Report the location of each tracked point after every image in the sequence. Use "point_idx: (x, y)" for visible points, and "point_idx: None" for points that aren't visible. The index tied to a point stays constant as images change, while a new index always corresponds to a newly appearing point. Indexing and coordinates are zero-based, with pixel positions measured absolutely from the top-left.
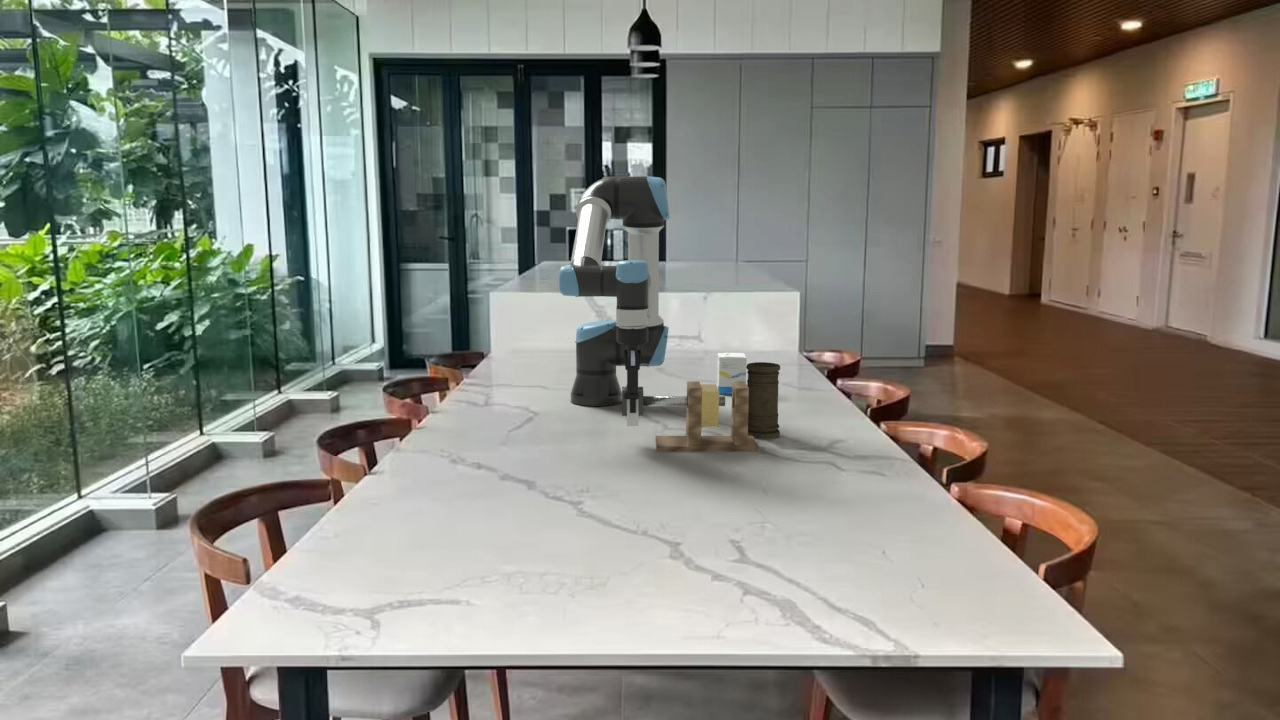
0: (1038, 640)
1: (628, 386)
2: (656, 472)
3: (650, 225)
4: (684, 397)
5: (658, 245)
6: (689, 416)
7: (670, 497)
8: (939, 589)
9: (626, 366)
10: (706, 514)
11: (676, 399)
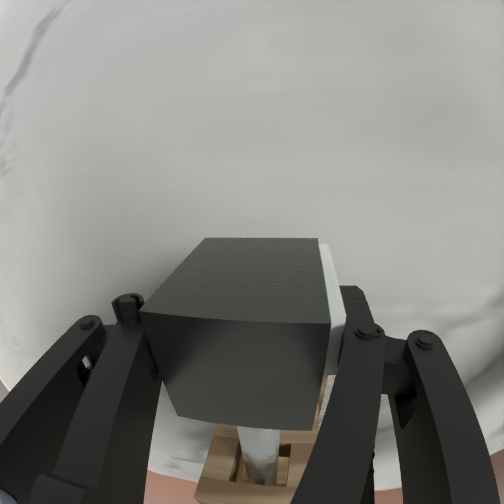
0: (3, 380)
1: (43, 361)
2: (79, 280)
3: None
4: (249, 469)
5: None
6: (217, 428)
7: (18, 284)
8: (11, 379)
9: (38, 500)
10: (8, 310)
11: (243, 453)
